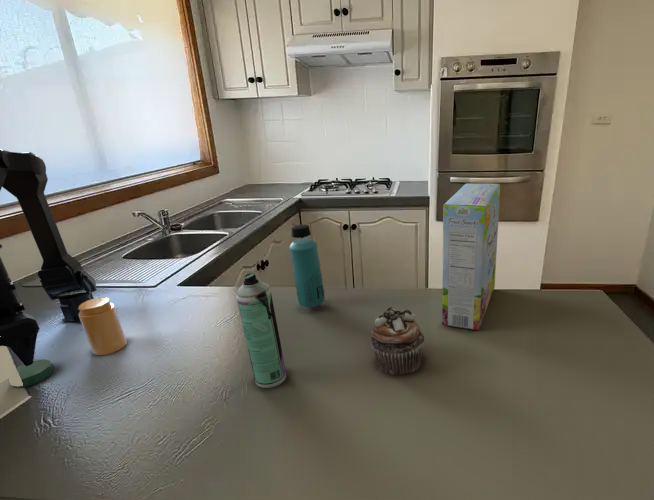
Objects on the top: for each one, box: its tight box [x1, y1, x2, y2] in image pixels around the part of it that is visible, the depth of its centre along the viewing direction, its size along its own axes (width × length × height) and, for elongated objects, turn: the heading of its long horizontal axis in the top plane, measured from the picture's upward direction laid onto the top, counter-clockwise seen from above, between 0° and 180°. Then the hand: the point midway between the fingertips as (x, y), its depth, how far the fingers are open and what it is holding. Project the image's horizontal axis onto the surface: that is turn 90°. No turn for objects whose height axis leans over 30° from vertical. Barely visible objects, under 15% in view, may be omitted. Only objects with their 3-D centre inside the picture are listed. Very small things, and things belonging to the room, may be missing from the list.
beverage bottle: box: [288, 223, 326, 308], centre depth 97 cm, size 6×7×20 cm
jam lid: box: [16, 358, 55, 388], centre depth 81 cm, size 7×7×2 cm
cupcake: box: [370, 306, 426, 376], centre depth 75 cm, size 10×10×10 cm
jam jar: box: [78, 296, 128, 356], centre depth 88 cm, size 6×6×10 cm
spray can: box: [235, 272, 287, 389], centre depth 71 cm, size 6×6×20 cm
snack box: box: [441, 182, 501, 331], centre depth 90 cm, size 22×9×26 cm, turn 158°
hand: (23, 356), depth 80 cm, fingers open, 9 cm apart
